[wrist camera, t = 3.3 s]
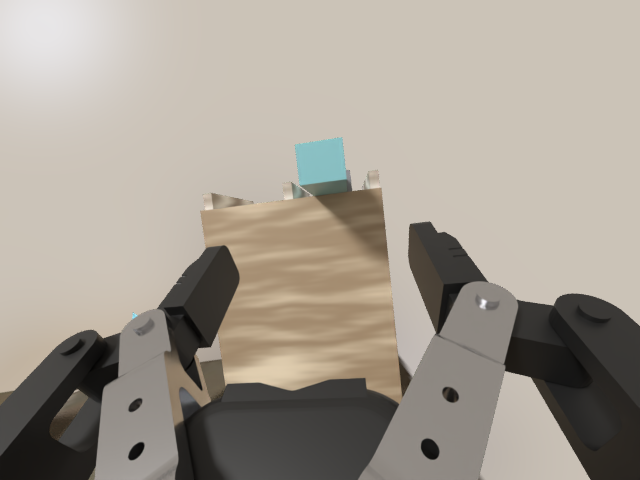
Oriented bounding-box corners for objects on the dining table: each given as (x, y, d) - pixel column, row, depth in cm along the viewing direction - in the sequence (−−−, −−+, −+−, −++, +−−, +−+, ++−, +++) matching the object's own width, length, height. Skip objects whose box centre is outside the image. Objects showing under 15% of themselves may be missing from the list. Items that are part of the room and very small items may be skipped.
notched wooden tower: (410, 478, 28) (379, 167, 26) (238, 476, 30) (197, 193, 28) (389, 392, 42) (368, 186, 40) (273, 396, 44) (247, 202, 42)
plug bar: (356, 177, 18) (350, 121, 18) (289, 186, 19) (283, 132, 19) (352, 201, 39) (349, 175, 39) (320, 204, 40) (317, 179, 39)
